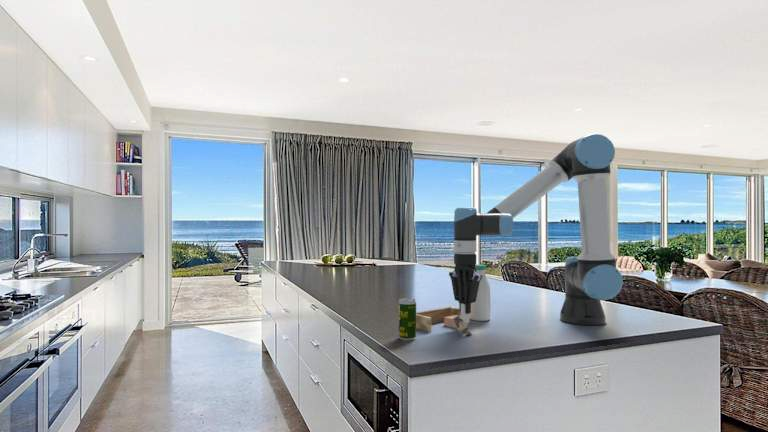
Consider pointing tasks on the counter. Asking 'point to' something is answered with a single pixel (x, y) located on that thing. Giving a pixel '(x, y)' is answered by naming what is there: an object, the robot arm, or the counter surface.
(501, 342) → the counter surface
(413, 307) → the beer can
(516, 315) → the counter surface
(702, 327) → the counter surface
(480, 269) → the milk bottle
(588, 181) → the robot arm
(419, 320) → the frame
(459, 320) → the vase
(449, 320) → the tile
